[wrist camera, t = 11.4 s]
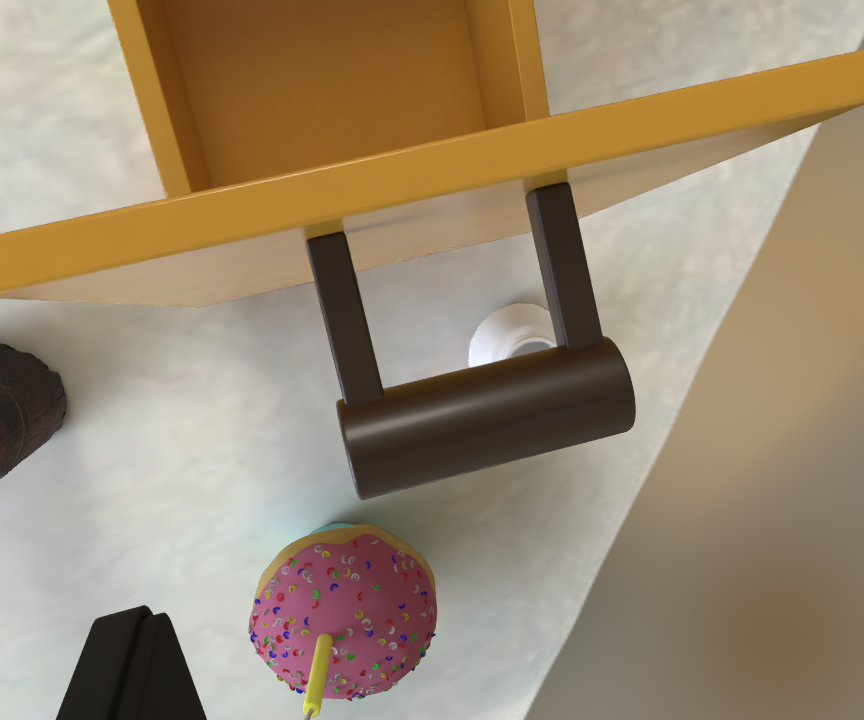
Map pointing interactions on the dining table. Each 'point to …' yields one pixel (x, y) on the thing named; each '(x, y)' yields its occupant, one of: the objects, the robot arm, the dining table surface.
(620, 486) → the dining table surface
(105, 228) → the lid
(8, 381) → the butter churn
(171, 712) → the robot arm
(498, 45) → the open wooden box
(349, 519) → the dining table surface
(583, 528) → the dining table surface
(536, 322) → the white jar
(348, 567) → the cupcake
